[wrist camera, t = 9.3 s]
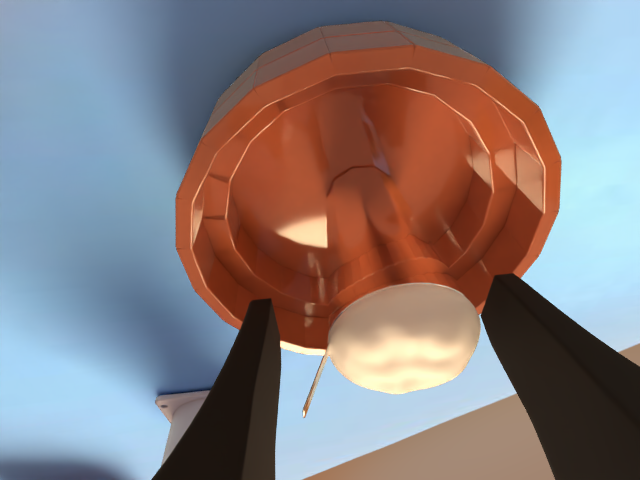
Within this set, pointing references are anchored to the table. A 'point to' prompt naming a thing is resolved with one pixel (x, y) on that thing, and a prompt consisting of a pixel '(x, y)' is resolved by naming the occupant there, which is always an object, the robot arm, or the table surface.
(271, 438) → the robot arm
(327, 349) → the milkshake
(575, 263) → the table surface
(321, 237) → the bowl
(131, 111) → the table surface
